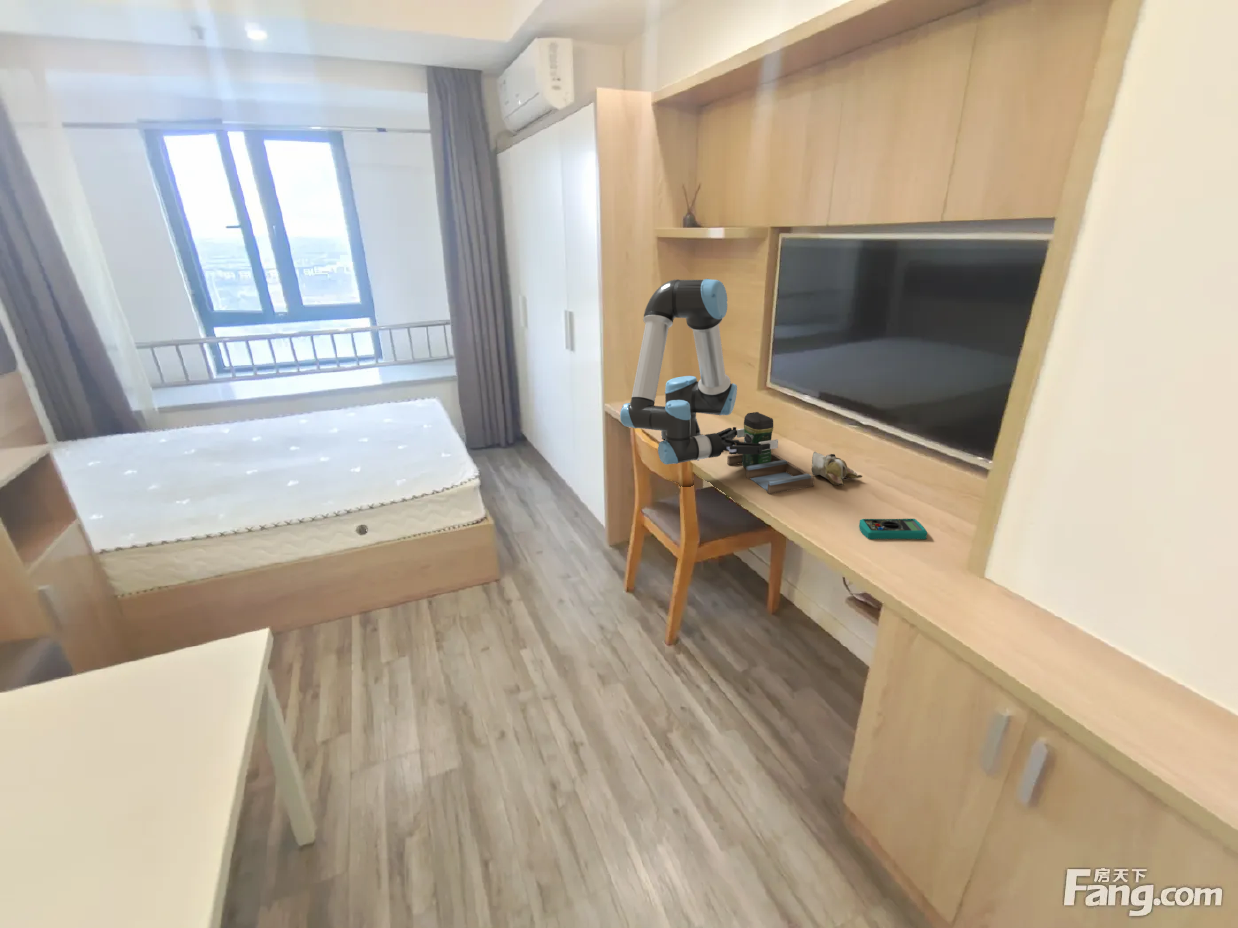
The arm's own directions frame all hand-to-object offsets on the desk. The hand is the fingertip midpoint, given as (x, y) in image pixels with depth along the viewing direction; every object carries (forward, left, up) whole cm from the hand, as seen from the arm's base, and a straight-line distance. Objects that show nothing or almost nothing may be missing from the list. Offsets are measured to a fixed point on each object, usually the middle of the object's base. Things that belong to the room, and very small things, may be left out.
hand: (765, 437), depth 181 cm
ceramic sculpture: (+17, +14, -11) cm, 24 cm away
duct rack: (+6, -3, -11) cm, 13 cm away
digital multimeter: (+50, +6, -11) cm, 52 cm away
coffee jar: (0, -3, -11) cm, 11 cm away
